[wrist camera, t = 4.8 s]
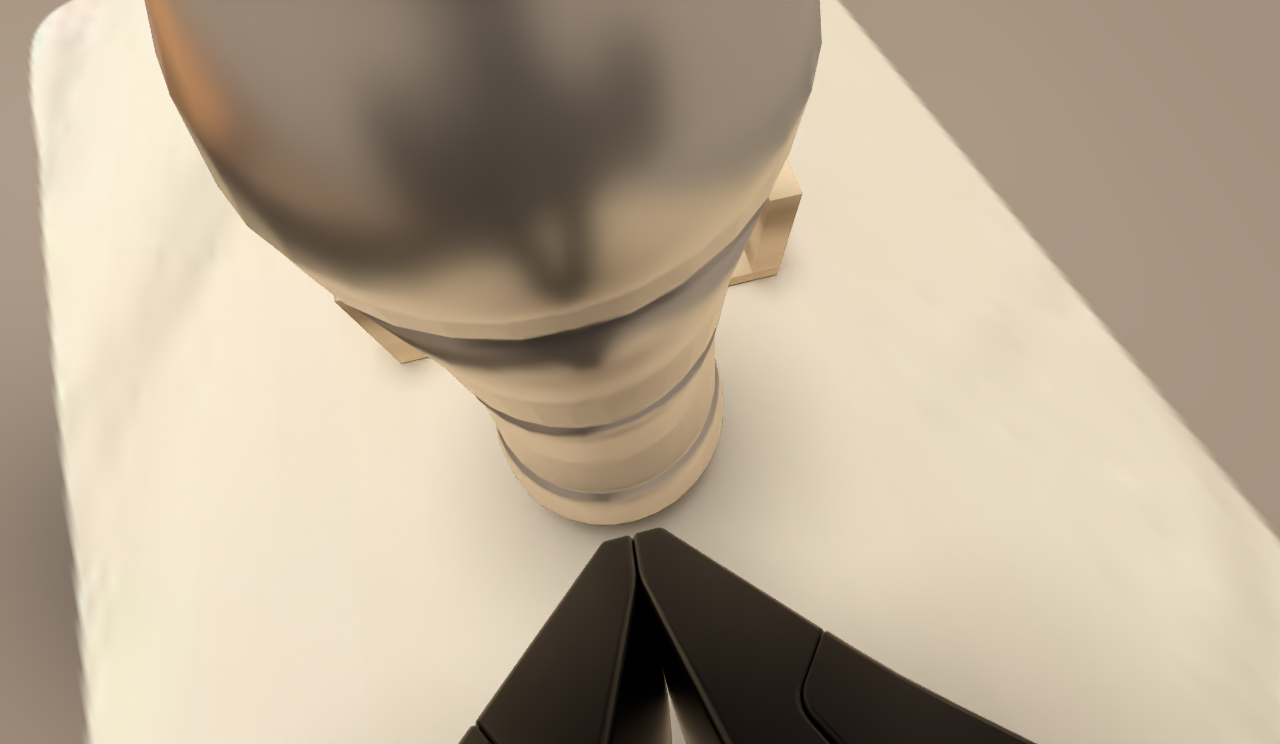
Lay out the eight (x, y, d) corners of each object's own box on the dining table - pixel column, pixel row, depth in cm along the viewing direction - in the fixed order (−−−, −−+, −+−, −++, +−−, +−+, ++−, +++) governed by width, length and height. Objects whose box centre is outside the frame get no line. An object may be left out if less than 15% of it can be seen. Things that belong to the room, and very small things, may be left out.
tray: (777, 273, 22) (802, 193, 18) (400, 363, 21) (334, 301, 17) (633, -97, 30) (626, -209, 26) (363, -42, 30) (314, -148, 26)
